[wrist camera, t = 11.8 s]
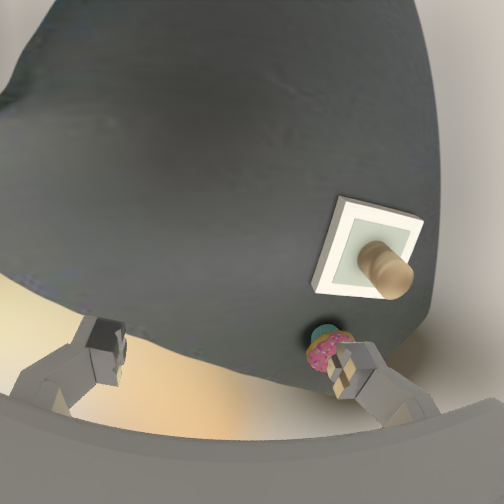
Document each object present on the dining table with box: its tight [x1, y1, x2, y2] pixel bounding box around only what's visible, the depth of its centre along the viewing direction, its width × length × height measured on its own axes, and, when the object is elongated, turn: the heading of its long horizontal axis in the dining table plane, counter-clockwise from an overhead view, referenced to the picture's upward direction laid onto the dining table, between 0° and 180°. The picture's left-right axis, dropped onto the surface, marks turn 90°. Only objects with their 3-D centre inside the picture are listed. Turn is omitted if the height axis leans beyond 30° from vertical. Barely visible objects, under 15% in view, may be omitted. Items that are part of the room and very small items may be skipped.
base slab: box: [311, 196, 424, 299], centre depth 43 cm, size 14×14×3 cm
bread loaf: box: [357, 241, 413, 300], centre depth 38 cm, size 5×5×7 cm
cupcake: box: [306, 324, 355, 373], centre depth 46 cm, size 9×8×12 cm
